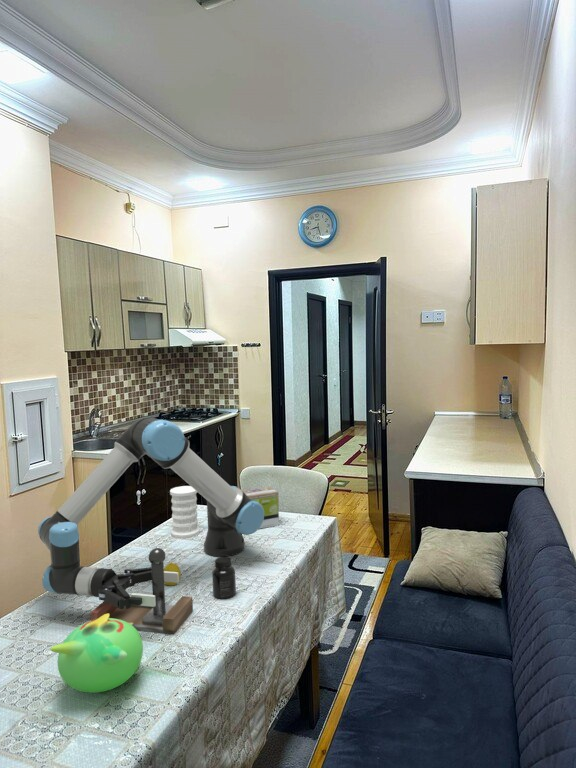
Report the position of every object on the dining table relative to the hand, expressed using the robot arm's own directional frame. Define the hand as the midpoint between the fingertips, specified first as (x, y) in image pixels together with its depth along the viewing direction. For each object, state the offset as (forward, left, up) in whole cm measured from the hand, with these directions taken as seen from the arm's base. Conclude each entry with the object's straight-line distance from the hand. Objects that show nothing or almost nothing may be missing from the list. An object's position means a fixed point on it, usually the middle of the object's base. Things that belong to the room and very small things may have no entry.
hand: (167, 588), depth 138 cm
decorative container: (-42, -57, -11) cm, 72 cm away
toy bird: (+23, +11, -11) cm, 28 cm away
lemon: (-13, -19, -11) cm, 25 cm away
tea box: (-68, -42, -11) cm, 81 cm away
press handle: (+1, -2, -9) cm, 9 cm away
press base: (+4, -6, -10) cm, 13 cm away
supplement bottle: (-20, -1, -11) cm, 22 cm away
